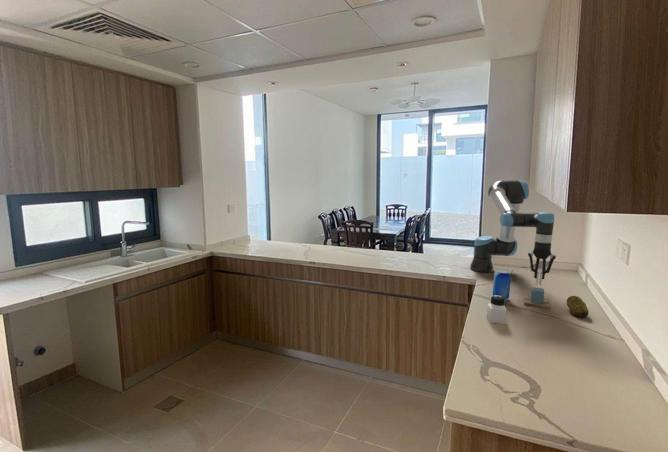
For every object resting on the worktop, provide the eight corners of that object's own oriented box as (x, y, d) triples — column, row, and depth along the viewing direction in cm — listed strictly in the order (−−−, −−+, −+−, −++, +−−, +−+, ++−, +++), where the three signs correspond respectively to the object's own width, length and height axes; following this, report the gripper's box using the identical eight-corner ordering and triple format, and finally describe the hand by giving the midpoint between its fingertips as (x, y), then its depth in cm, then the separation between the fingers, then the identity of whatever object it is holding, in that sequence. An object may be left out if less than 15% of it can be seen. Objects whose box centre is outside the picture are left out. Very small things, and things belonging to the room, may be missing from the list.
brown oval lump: (568, 317, 176) (570, 301, 174) (564, 307, 187) (566, 293, 186) (588, 320, 173) (590, 304, 171) (583, 310, 184) (585, 295, 183)
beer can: (505, 295, 203) (507, 268, 200) (511, 301, 195) (513, 273, 192) (490, 295, 204) (492, 268, 201) (495, 301, 196) (497, 273, 193)
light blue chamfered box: (530, 298, 197) (531, 287, 196) (542, 300, 195) (543, 288, 193) (531, 302, 192) (532, 290, 191) (543, 303, 190) (544, 292, 188)
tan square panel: (523, 297, 201) (524, 286, 200) (548, 300, 196) (549, 289, 195) (524, 304, 191) (525, 293, 190) (550, 308, 186) (551, 296, 185)
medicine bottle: (505, 324, 168) (508, 300, 166) (489, 322, 170) (491, 299, 168) (502, 317, 175) (504, 294, 173) (486, 316, 177) (488, 293, 175)
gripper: (528, 241, 187) (523, 284, 191) (559, 244, 181) (554, 288, 185) (527, 239, 194) (523, 280, 198) (557, 241, 188) (552, 284, 192)
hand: (538, 284), depth 192 cm, fingers closed
